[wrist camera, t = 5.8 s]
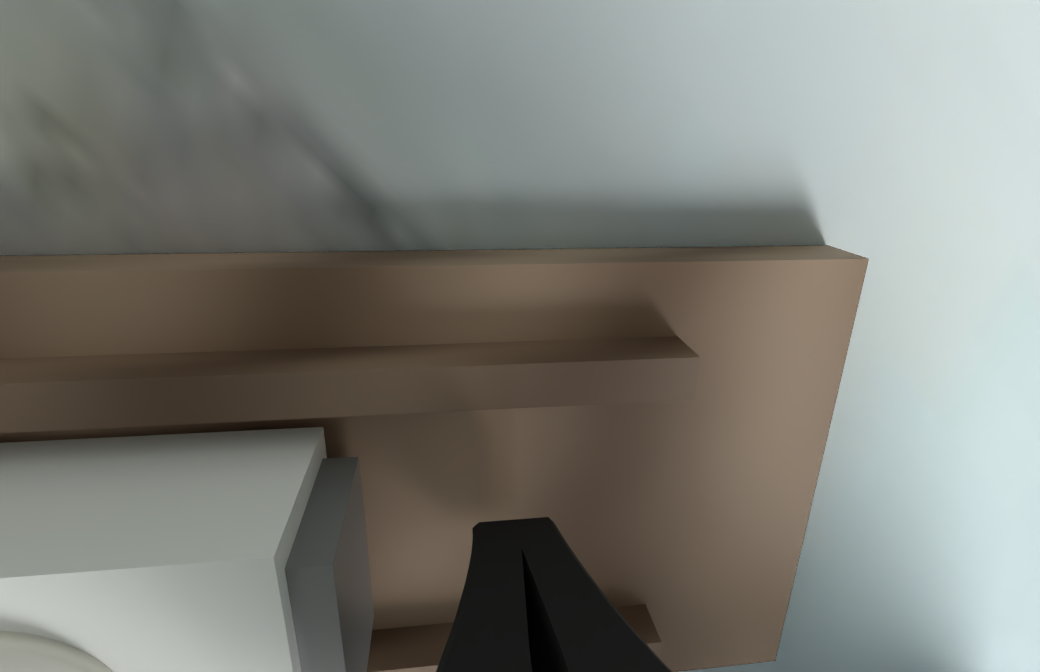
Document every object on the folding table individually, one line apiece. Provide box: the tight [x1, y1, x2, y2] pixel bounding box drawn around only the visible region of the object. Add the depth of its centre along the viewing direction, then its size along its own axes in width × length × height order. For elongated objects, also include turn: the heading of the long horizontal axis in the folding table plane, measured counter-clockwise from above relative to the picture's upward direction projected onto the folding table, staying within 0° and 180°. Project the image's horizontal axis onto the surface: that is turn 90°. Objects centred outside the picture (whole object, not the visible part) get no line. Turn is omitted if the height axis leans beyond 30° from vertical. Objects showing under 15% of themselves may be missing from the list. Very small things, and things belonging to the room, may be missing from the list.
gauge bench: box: [0, 245, 869, 672], centre depth 9 cm, size 21×10×6 cm, turn 89°
